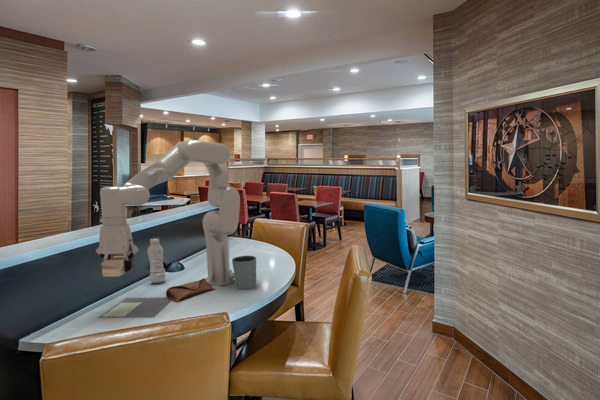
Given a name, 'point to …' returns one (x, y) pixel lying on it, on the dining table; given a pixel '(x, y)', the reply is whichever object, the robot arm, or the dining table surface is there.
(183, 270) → the dining table surface
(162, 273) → the plastic bottle
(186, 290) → the sunglasses case
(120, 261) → the card box
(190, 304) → the dining table surface
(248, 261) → the grey cup
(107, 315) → the mat
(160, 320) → the dining table surface
